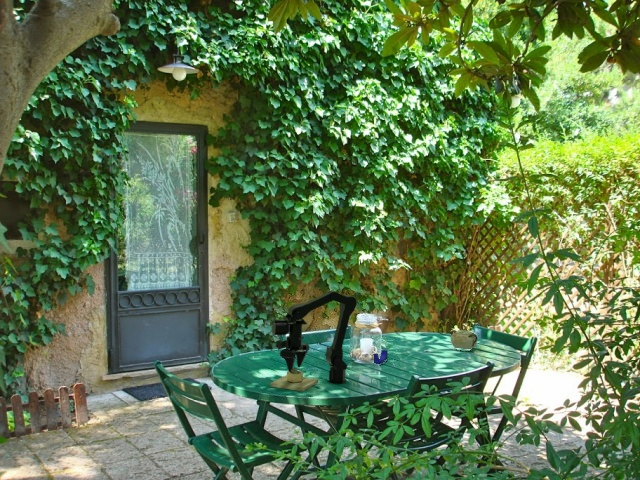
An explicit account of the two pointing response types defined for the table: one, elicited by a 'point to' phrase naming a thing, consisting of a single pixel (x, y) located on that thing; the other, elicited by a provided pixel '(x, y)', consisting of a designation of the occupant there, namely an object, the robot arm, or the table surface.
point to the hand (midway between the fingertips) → (294, 369)
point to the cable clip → (381, 357)
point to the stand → (294, 383)
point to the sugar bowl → (463, 338)
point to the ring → (295, 376)
